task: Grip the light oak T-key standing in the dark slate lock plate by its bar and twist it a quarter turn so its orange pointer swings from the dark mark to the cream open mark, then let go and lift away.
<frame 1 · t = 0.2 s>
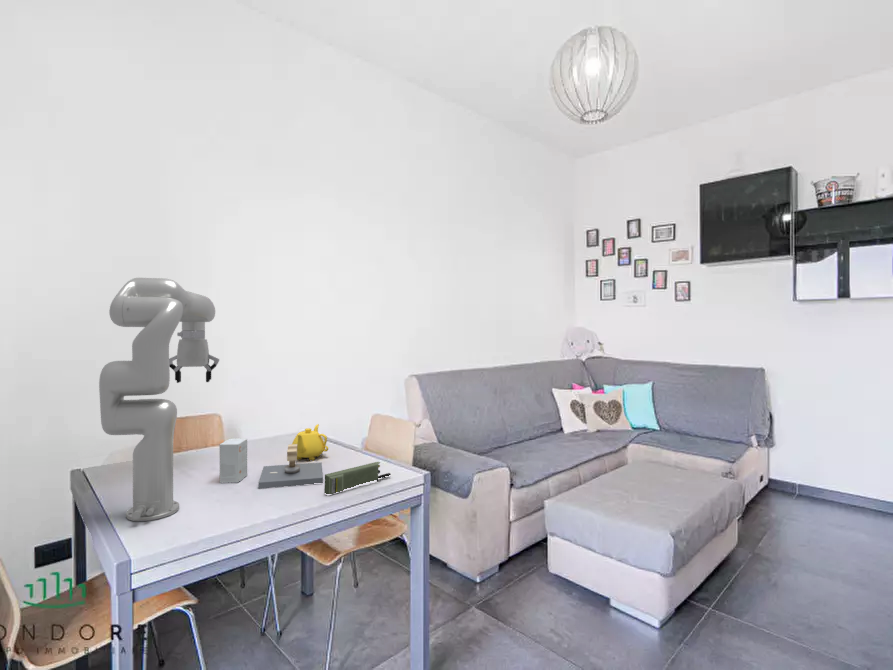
hand: (193, 382, 173), 31 cm above the table, tool pointing down, fingers open, 9 cm apart
teapot: (310, 458, 186), on the table
small box: (233, 479, 159), on the table
lock plate: (292, 477, 162), on the table
t key: (292, 459, 162), point 6 cm above the table, hinge at 0.0°
handheld radio: (359, 487, 154), on the table
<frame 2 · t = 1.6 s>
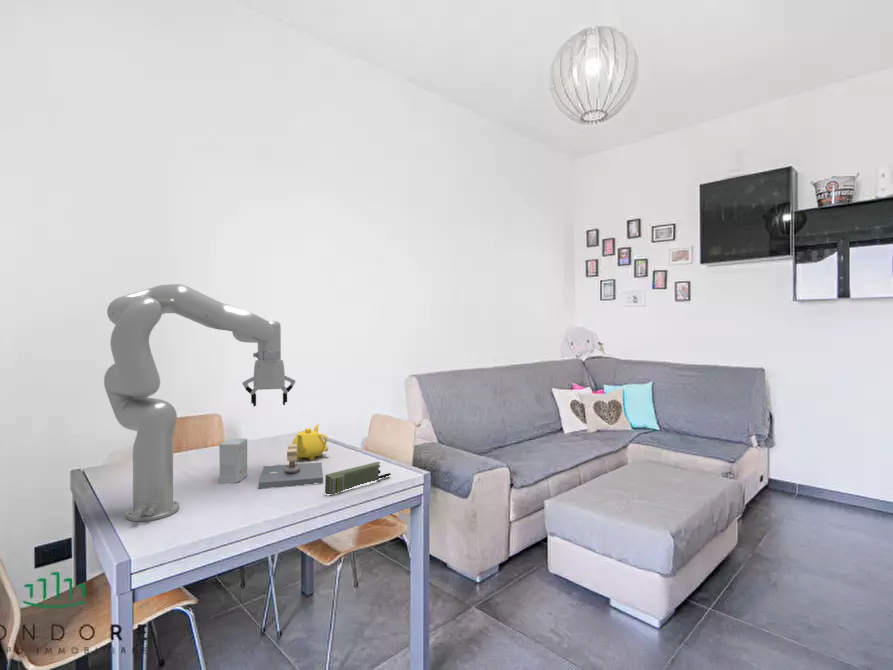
hand: (269, 405, 164), 24 cm above the table, tool pointing down, fingers open, 9 cm apart
nothing on the table moved.
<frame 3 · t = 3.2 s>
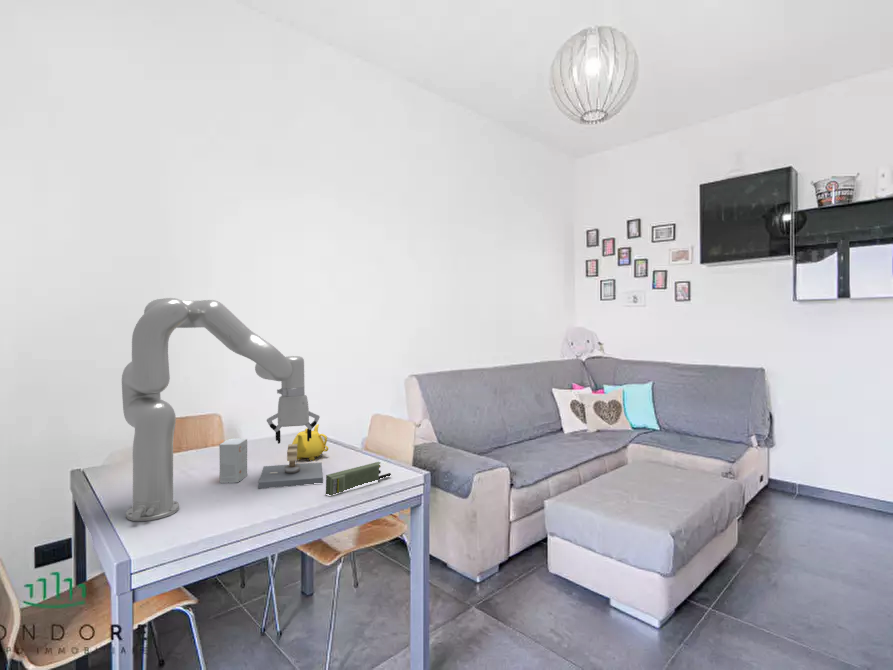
hand: (293, 441, 162), 12 cm above the table, tool pointing down, fingers open, 9 cm apart
nothing on the table moved.
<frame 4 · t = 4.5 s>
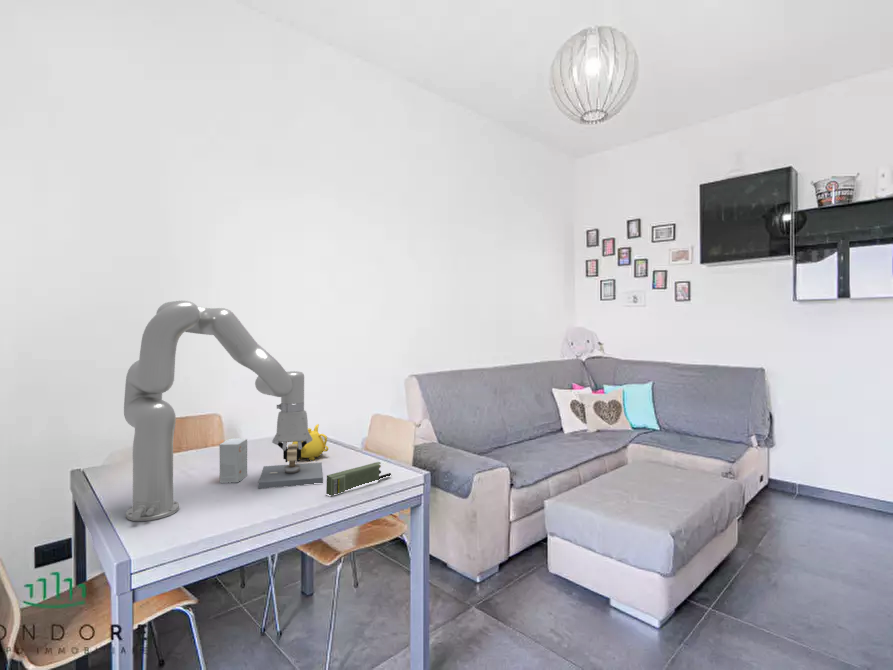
hand: (292, 460, 162), 6 cm above the table, tool pointing down, fingers closed on t key, 3 cm apart
t key: (292, 459, 162), point 6 cm above the table, hinge at 0.0°, touching gripper
everything else where it was.
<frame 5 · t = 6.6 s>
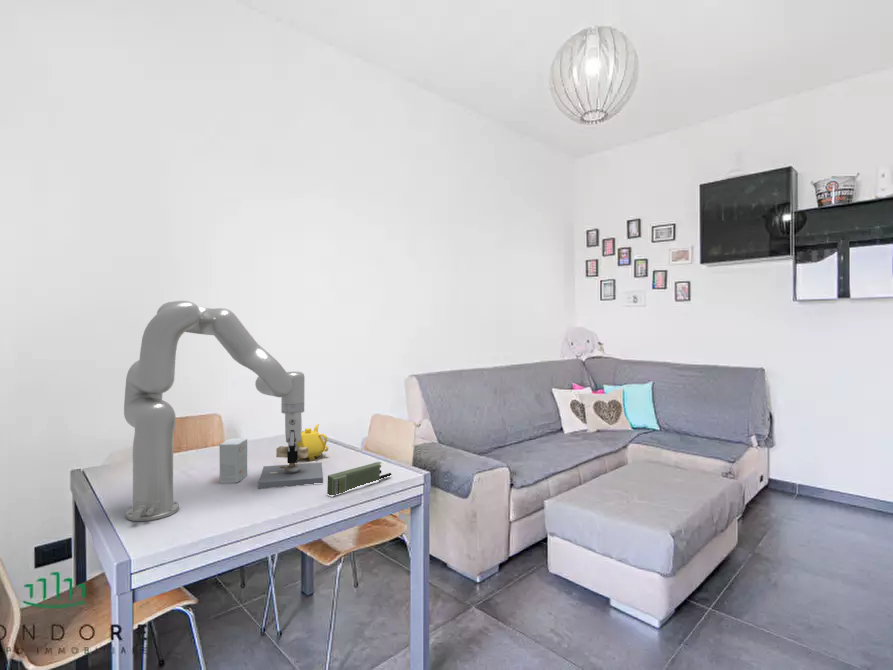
hand: (292, 460, 162), 6 cm above the table, tool pointing down, fingers closed on t key, 4 cm apart
t key: (292, 459, 162), point 6 cm above the table, hinge at 69.5°, touching gripper
everything else where it was.
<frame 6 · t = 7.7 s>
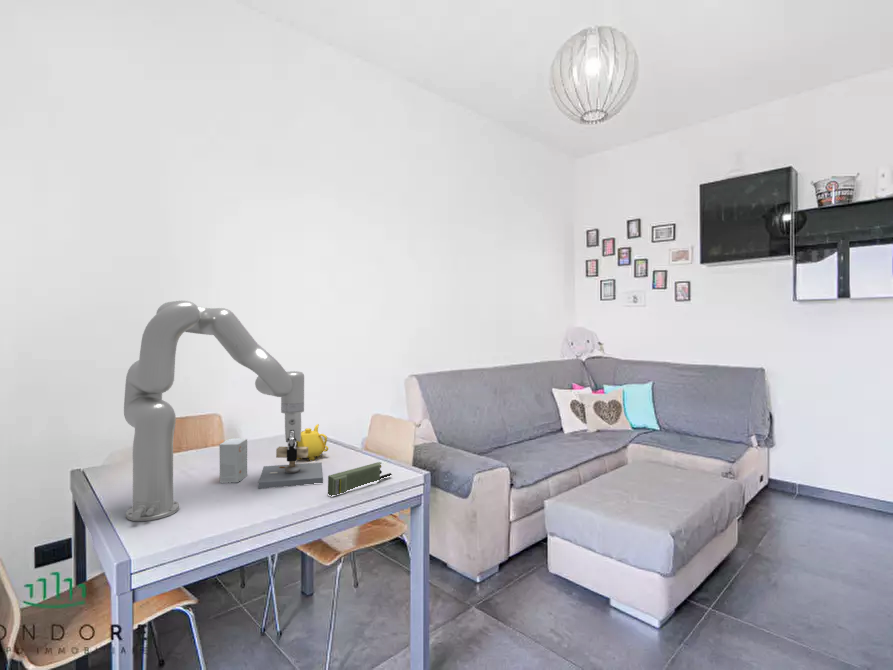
hand: (292, 457, 162), 7 cm above the table, tool pointing down, fingers open, 9 cm apart
t key: (292, 459, 162), point 6 cm above the table, hinge at 74.1°
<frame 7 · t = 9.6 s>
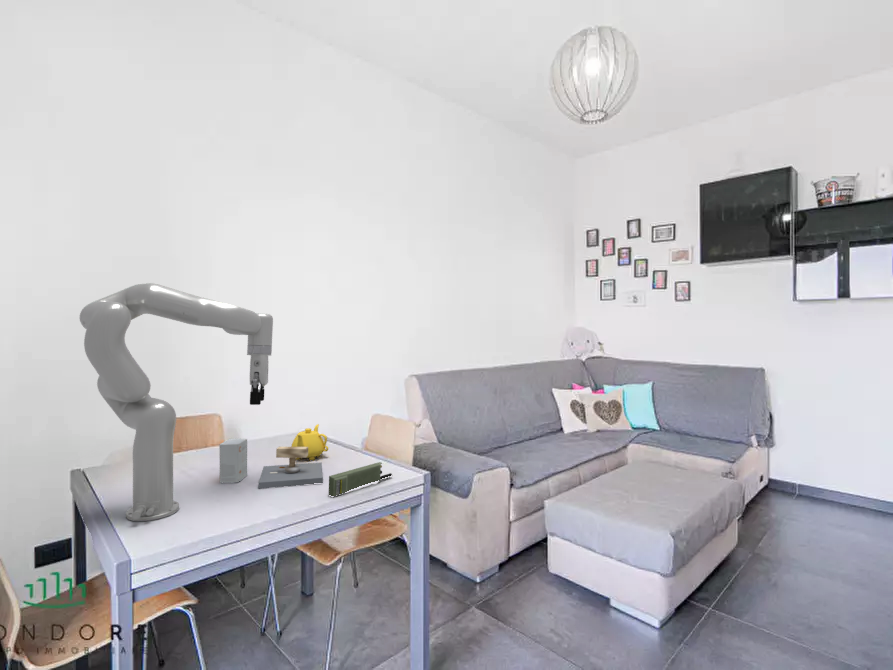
hand: (257, 402, 155), 27 cm above the table, tool pointing down, fingers open, 9 cm apart
t key: (292, 459, 162), point 6 cm above the table, hinge at 74.5°
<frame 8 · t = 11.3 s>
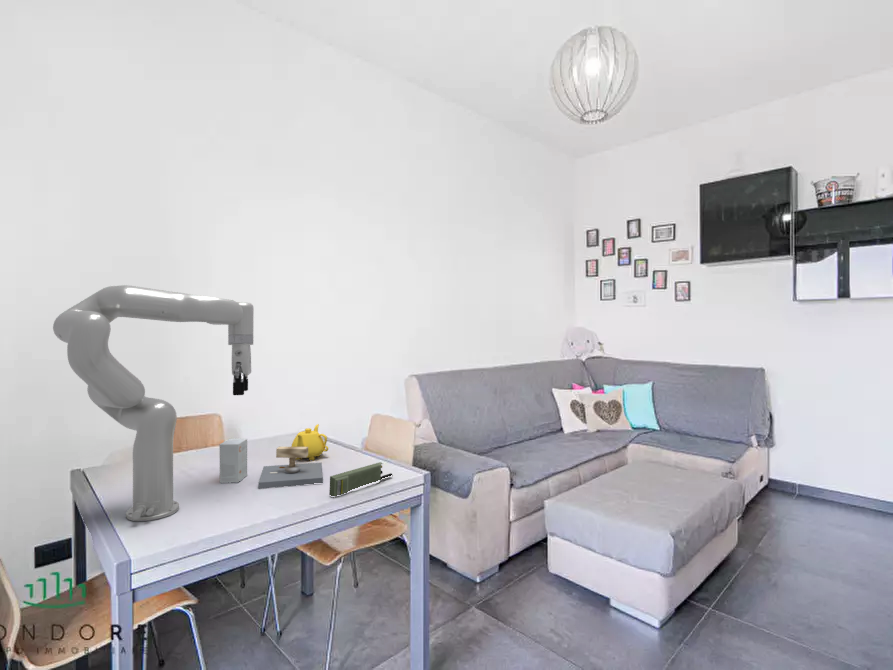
hand: (240, 392, 153), 30 cm above the table, tool pointing down, fingers open, 9 cm apart
at the end: t key at +74° (first picture: +0°); the gripper is holding nothing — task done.
